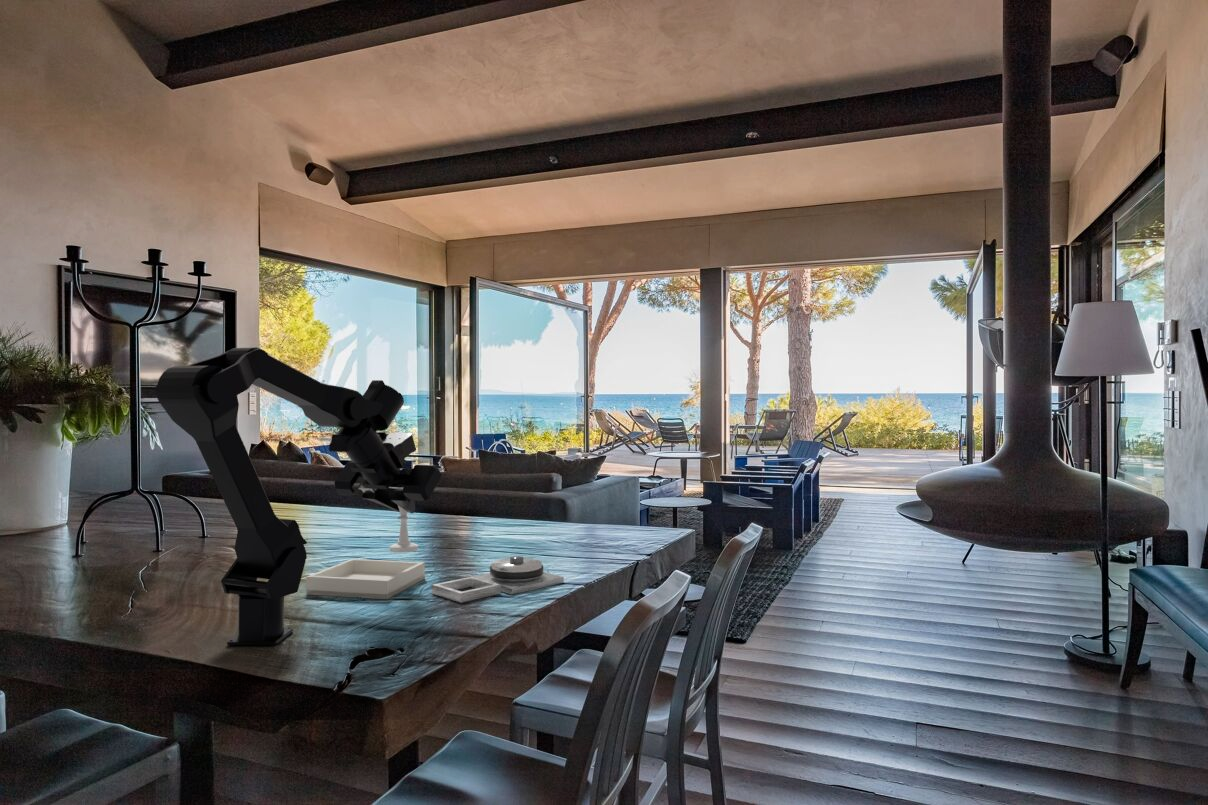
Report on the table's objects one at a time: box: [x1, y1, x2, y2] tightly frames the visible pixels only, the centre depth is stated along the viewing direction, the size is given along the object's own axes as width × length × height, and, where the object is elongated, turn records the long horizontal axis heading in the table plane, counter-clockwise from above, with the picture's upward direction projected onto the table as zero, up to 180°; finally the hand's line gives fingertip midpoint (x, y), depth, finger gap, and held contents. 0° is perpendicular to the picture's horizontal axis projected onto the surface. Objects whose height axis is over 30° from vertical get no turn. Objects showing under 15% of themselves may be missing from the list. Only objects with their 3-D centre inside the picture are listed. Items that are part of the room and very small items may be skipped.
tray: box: [305, 558, 426, 600], centre depth 130 cm, size 15×15×3 cm
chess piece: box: [388, 505, 419, 554], centre depth 129 cm, size 5×5×10 cm
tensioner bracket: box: [431, 555, 565, 604], centre depth 130 cm, size 21×12×4 cm, turn 136°
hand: (408, 511), depth 130 cm, fingers closed on chess piece
